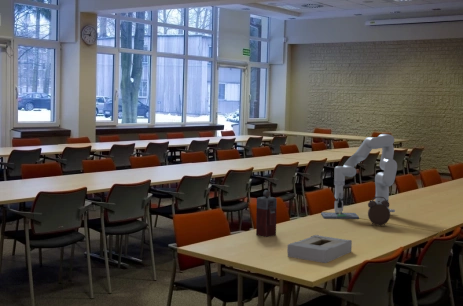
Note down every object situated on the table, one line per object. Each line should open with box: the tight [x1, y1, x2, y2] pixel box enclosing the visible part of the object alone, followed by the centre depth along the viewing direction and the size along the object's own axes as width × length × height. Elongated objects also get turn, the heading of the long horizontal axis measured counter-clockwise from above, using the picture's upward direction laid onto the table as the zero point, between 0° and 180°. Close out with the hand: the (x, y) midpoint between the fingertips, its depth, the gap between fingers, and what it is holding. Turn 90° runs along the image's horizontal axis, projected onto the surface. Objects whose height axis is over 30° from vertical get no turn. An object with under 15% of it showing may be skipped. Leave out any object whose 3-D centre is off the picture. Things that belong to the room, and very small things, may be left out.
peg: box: [334, 200, 344, 214], centre depth 450 cm, size 13×6×9 cm, turn 176°
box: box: [286, 234, 353, 264], centre depth 337 cm, size 23×8×32 cm
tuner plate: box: [320, 211, 360, 220], centre depth 450 cm, size 25×16×3 cm, turn 89°
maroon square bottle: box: [255, 189, 278, 238], centre depth 383 cm, size 9×11×28 cm
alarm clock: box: [367, 196, 391, 227], centre depth 416 cm, size 15×7×20 cm, turn 84°
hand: (338, 206), depth 454 cm, fingers open, 8 cm apart
